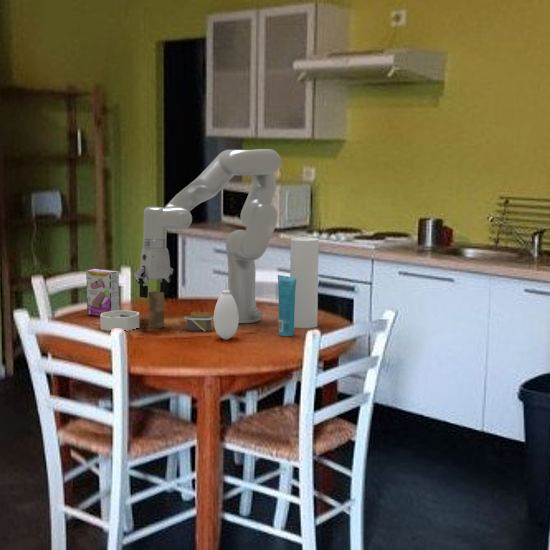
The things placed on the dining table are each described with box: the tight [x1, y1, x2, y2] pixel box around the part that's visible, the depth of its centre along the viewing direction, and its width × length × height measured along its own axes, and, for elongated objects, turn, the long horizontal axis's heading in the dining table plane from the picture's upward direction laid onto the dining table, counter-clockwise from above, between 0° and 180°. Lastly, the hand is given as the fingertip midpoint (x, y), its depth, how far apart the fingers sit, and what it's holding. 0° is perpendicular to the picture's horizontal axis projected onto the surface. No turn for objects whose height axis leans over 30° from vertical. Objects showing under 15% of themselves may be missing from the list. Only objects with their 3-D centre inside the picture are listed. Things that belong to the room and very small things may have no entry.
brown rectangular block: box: [148, 290, 165, 329], centre depth 269 cm, size 4×2×12 cm, turn 55°
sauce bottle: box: [213, 282, 240, 340], centre depth 253 cm, size 8×8×18 cm
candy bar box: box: [85, 268, 120, 318], centre depth 288 cm, size 11×5×16 cm, turn 63°
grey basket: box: [183, 311, 214, 332], centre depth 265 cm, size 12×18×7 cm, turn 87°
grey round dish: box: [99, 309, 140, 332], centre depth 270 cm, size 13×13×4 cm
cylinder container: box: [289, 236, 320, 329], centre depth 273 cm, size 9×9×30 cm
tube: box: [277, 274, 297, 337], centre depth 259 cm, size 7×5×19 cm, turn 57°
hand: (154, 295), depth 268 cm, fingers open, 9 cm apart
